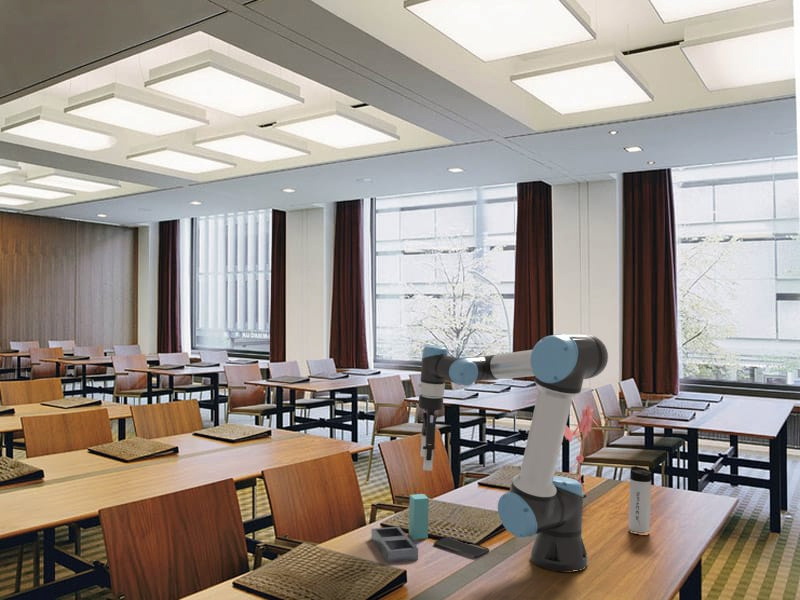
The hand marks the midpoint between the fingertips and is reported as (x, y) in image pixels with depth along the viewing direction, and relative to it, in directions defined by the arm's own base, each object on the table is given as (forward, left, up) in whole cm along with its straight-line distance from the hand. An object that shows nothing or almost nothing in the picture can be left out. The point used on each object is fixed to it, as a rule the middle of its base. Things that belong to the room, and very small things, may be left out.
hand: (425, 463), depth 207 cm
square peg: (-6, +4, -21) cm, 22 cm away
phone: (-18, -5, -21) cm, 28 cm away
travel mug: (-18, -65, -21) cm, 71 cm away
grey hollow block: (-14, +14, -21) cm, 28 cm away
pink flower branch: (+15, -67, -21) cm, 72 cm away
